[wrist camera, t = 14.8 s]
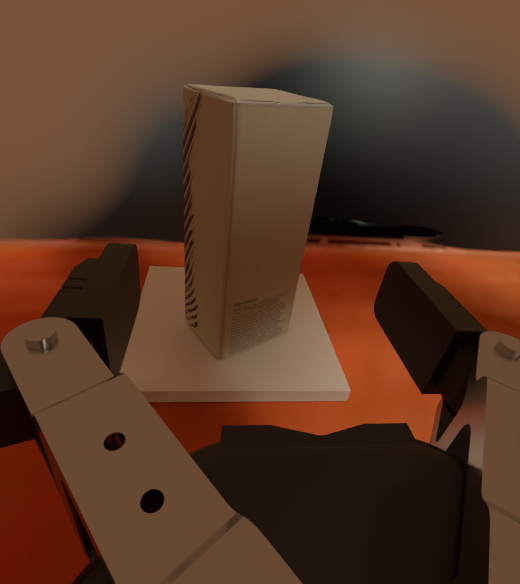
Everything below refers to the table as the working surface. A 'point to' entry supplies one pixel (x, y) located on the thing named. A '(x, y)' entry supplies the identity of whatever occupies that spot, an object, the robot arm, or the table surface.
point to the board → (233, 370)
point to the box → (247, 208)
